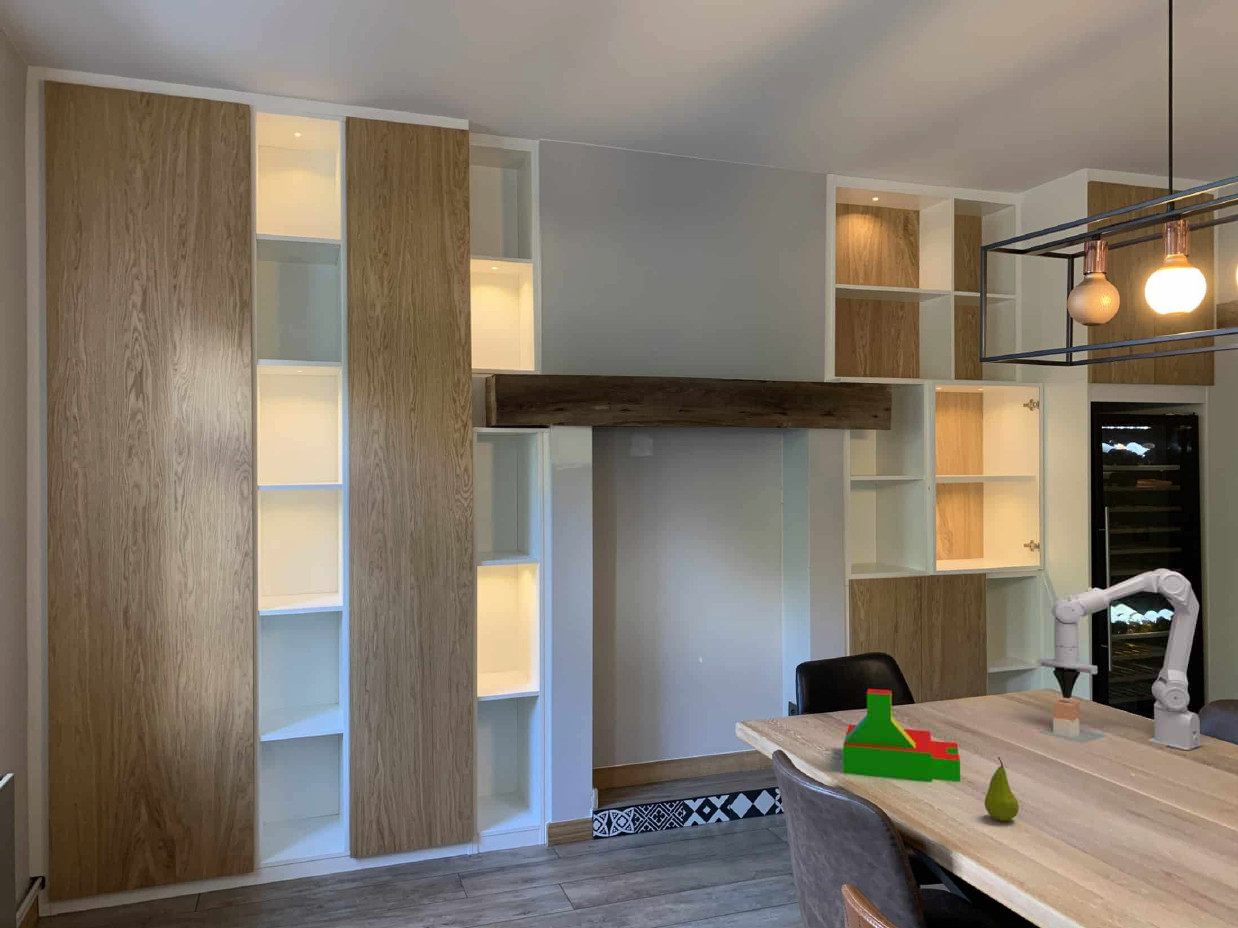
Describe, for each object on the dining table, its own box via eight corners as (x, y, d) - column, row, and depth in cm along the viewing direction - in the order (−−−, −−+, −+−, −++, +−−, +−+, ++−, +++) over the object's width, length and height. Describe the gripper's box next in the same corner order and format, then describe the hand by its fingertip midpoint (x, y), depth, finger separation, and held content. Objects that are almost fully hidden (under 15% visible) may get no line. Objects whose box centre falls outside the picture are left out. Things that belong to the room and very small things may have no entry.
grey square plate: (1107, 737, 230) (1107, 735, 230) (1083, 744, 223) (1083, 742, 223) (1061, 727, 239) (1061, 725, 239) (1037, 733, 233) (1037, 732, 233)
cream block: (1079, 734, 231) (1079, 718, 231) (1070, 736, 228) (1070, 721, 228) (1062, 730, 234) (1062, 715, 235) (1053, 732, 232) (1053, 717, 232)
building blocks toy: (960, 786, 192) (959, 702, 193) (843, 774, 200) (842, 693, 201) (956, 761, 210) (956, 684, 211) (849, 750, 218) (848, 676, 219)
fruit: (1007, 828, 168) (1006, 764, 168) (977, 818, 173) (977, 756, 173) (1025, 820, 172) (1024, 758, 172) (995, 811, 177) (995, 751, 177)
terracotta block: (1078, 718, 232) (1078, 702, 232) (1072, 721, 228) (1072, 705, 229) (1060, 714, 235) (1060, 699, 235) (1054, 717, 232) (1054, 702, 232)
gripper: (1101, 647, 230) (1102, 699, 229) (1044, 640, 240) (1045, 690, 240) (1091, 650, 225) (1092, 704, 224) (1033, 643, 236) (1034, 694, 235)
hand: (1067, 697), depth 232 cm, fingers closed
